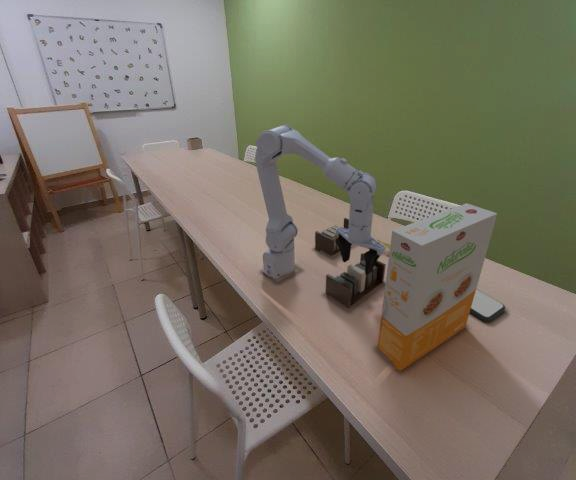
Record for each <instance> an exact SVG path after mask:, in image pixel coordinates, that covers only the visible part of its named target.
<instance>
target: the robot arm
mask: <svg viewBox="0 0 576 480" xmlns="http://www.w3.org/2000/svg"><path fill="white" fill-rule="evenodd" d="M255 146H256V150H255V156H254V162H255V167H256V171H257V174H258V175H257V176H258V179H259V182H260V187H261V191H262V195H263V200H264V204H265V208H266V212H267V216H268V221H267V224H266V226H265V233H266V235H265V244H266V246H267V248H268V249H267V250H266V251H264V252H263V253H262V263H263V265H262V267H263V269H262V273H264V275H266V276H267V277H269V278H272V279H274V280H278V279H279V278H282V277H284V276H286V275H290V274H291V273H293V272H294V271H295V269H296V262H295V260H296V259H295V255H296V254H295V238H296V237H297V235H298V233H299V232H298V228H297V227H298V226H297V225H296V223H295V222H294V220H293V217H292V216H291V215H290V214H288V212H287V208H286V202H285V198H284V194H283V190H282V185H281V180H280V175H279V170H278V167H277V161H278V160H279V159H280V157H281V156H282V155H291V154H293V155H294V154H296V155H298V156H300V157H301V158H303V159H305V160H307V161H308V162H310V163H311V164H313V165H314V166H316V167H318V168H320V170H322V172H323V176H324V177H325V178H326V179H327V180H329V181H330V182H332V183H333V184H335V185H336V186H338V187H339V188H340V189H342V190H343V191H345V192H346V193H347V197H348V198H349V200H350V202H349V203H350V204H349V213H348V219H349V228H348V229H346V228H343V227H342V226H338V227H339V228H337V229H336V232H335V235H337V236H339V237H338V238H337V239H336V240H335V242H336V244H337V246H338V247H339V250H340V252H339V253H340V256H341V259H342V262H343V263H346V262H348V261H350V259H351V250H352V249H351V248H352V246H353V245H354V246H358V247H362V248H366V249H368V250H367V251H366V252H364V253H363V254H364V258H365V274H367V275H368V274H370V273H371V272H372V270H373V267H374V265H375V263H376V261H377V260H378V261H379V258H380V257H381V256H383V255H384V254H385V253H386V248H387V247H386V246H385V245H384V244H382V243H379V241H377V239H375V238H374V237H373V236H372V226H373V215H374V198H375V197H374V194H375V193H376V191H377V188H378V182H377V180H376V178H375V177H374V176H373V175H372V174H371V173H369V172H363V171H362V170H361V169H360V170H358V169H357V168H355V167H353V166H352V165H351V164H349V163H347V162H348V160H347V159H346V158H344V157H342V158H340V157H339V156H338V157H337V156H336V157H330V156H328V155H327V154H326V153H325V152H323V151H322V150H321V149H320V148H318V147H317V146H315V145H314V144H313V143H311V142H310V141H309V140H307V138H305V137H304V136H303V135H302V134H301V133H300V132H299V131H298V130H296V129H293V128H292V127H291V126H290V125H288V124H281V125H279V126H277V127H274V128H271V129H265V130H263V131H262V132H261V133H260V134H259V136H257V138H256V140H255ZM352 244H353V245H352Z"/></svg>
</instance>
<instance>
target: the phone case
mask: <svg viewBox="0 0 576 480" xmlns="http://www.w3.org/2000/svg"><path fill="white" fill-rule="evenodd" d="M505 311H506V306H505V305H504V303H502V302H500V301H498V300H497V299H494V298H493V297H491V296H489V295H488V294H486V293H484V292H482V291H481V290H479V289H477V288H476V292H475V295H474V299H473V302H472V306H471V309H470V313H469V314H472V315H473V316H475V317H476V318H478V319H479V320H481V321H483V322H486V323H488V322H491V321H492V320H494V319H495V318H497V317H498V316H500V315H501V314H502V313H504V312H505Z"/></svg>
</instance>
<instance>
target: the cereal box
mask: <svg viewBox="0 0 576 480" xmlns="http://www.w3.org/2000/svg"><path fill="white" fill-rule="evenodd" d="M497 216H498V213H497V212H494V211H492V210H488V209H486V208H482V207H479V206H477V205H473V204H470V203H466V202H465V203H464V204H461V205H457V206H456V207H453V208H450V209H447V210H445V211H442V212H439V213H437V214H434V215H431V216H427V217H426V218H423V219H420V220H418V221H414V222H411V223H409V224H406V225H404V226H400V227H399V228H396V229H392V230H391V236H390V237H391V238H390V249H389V255H388V262H387V268H386V269H387V270H386V276H385V277H386V278H385V284H384V292H383V301H382V309H381V318H380V324H379V332H378V339H377V348H378V349H379V350H380V351H381V352H382V353H383V354H385V355H386V356H387V357H388V358H389V359H390V364H391V365H392V366H393V367H394V368H395V369H396V370H397V371H398V372H402V371H403V370H404V369H406V368H407V367H408V366H410V365H411V364H413V363H415V362H416V361H418V360H419V359H421V358H422V357H424V356H425V355H426V354H429V352H431V351H432V350H434V349H435V348H437V347H439V346H440V345H441V344H443V343H444V342H446V341H447V340H448V339H450V338H451V337H453V336H454V335H456V334H458V333H459V332H461V331H462V330H463V329H465V328H466V327H467V323H468V320H469V316H470V314H471V313H470V309H471V306H472V302H473V299H474V295H475V292H476V289H477V287H478V284H479V280H480V278H481V274H482V270H483V266H484V263H485V259H486V256H487V252H488V248H489V245H490V242H491V239H492V235H493V231H494V228H495V224H496V220H497Z"/></svg>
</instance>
